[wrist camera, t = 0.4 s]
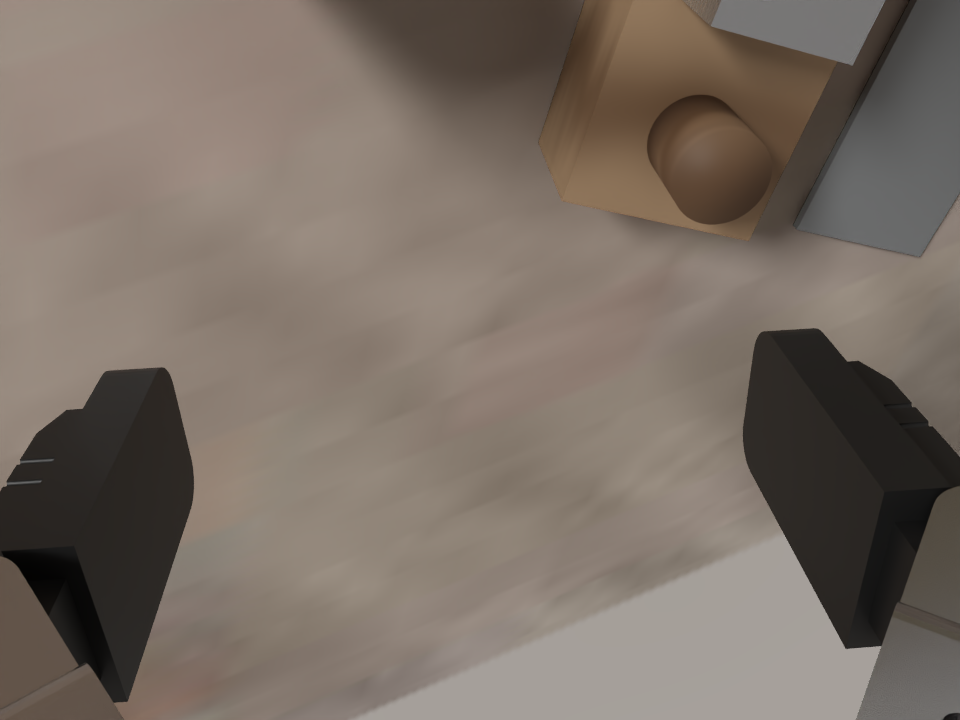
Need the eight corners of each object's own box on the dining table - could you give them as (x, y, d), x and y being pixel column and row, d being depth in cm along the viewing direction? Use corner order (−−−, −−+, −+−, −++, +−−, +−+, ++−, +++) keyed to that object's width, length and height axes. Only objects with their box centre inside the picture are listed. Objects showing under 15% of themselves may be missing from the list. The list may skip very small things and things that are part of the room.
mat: (922, -24, 32) (928, -21, 31) (1059, 18, 33) (1066, 21, 33) (793, 225, 37) (796, 229, 37) (915, 252, 39) (919, 256, 38)
